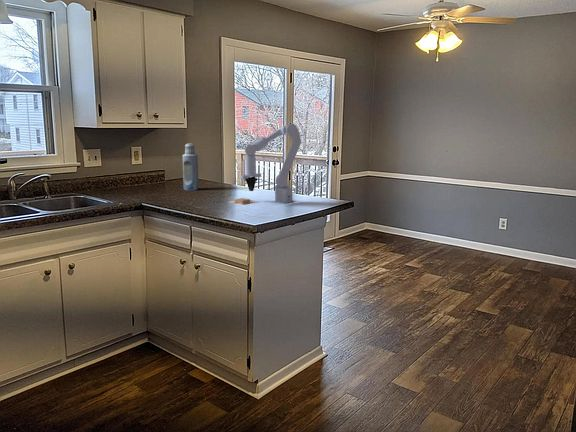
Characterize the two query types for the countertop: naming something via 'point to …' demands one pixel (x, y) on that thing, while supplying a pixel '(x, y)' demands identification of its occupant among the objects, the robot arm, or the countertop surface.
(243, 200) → the tile
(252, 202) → the board
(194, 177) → the bottle
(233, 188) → the countertop surface
